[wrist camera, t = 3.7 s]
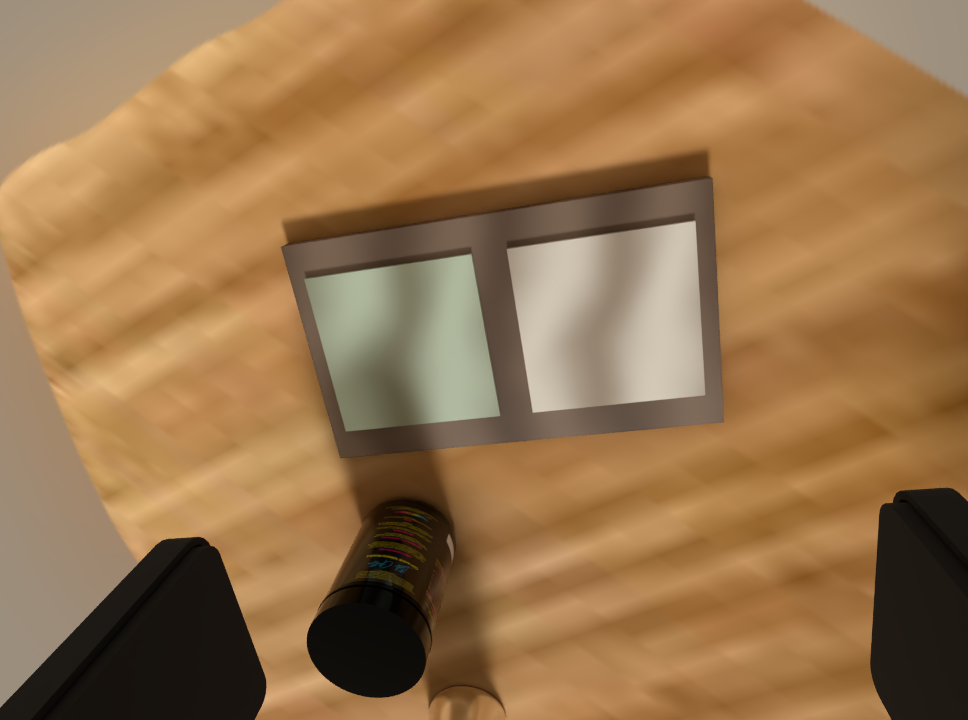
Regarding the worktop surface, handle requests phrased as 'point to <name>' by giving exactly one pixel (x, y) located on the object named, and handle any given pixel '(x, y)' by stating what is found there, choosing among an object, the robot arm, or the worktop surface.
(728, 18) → the worktop surface
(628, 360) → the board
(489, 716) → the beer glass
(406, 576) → the supplement container
